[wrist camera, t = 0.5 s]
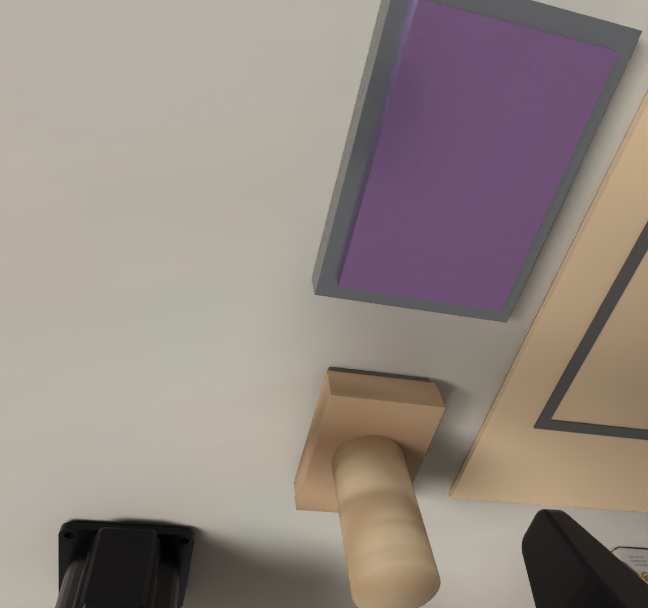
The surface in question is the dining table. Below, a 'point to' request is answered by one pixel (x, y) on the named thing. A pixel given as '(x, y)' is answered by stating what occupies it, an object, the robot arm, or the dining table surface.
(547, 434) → the stamp board
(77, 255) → the dining table surface
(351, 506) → the stamp
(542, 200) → the ink pad
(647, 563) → the coffee box
